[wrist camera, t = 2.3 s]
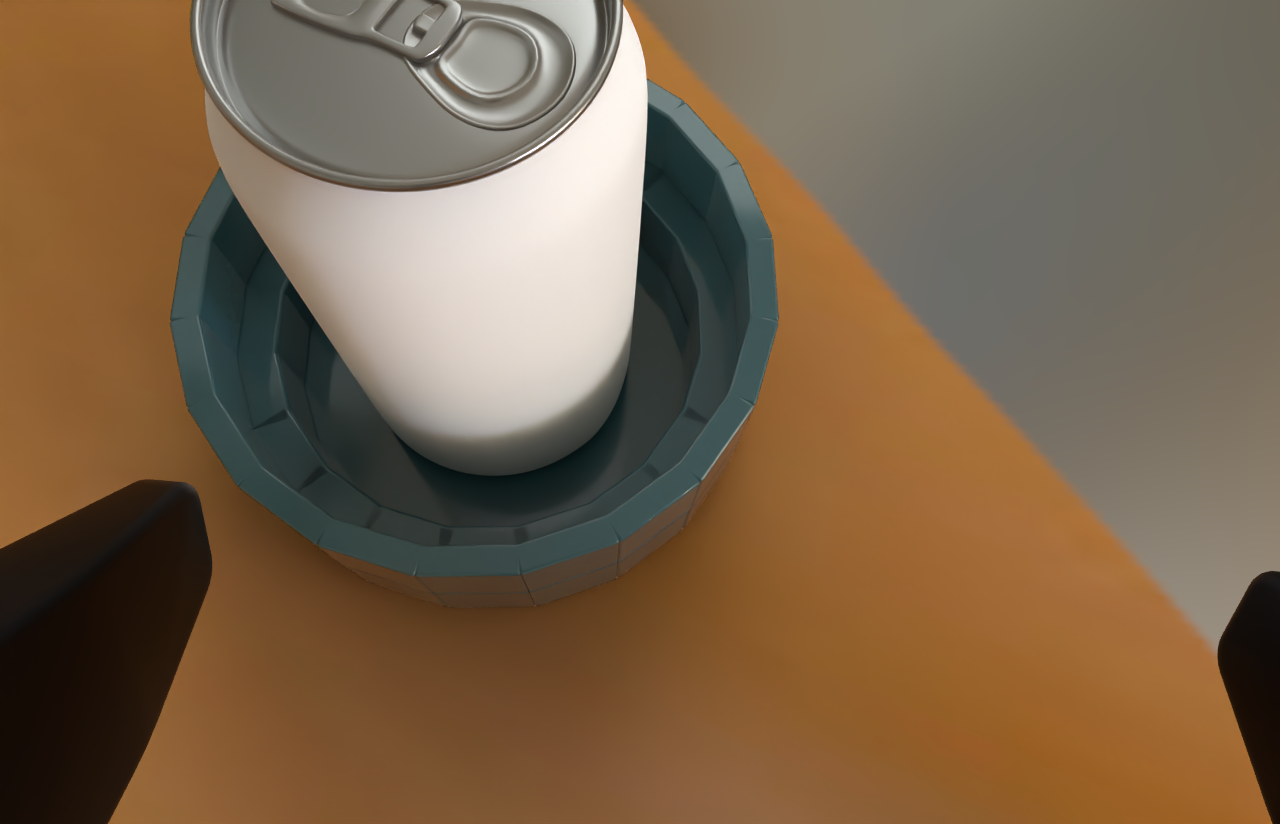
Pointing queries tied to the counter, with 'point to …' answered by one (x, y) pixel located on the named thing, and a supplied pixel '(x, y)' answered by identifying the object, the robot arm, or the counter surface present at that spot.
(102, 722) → the robot arm
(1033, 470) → the counter surface
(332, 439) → the bowl
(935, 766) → the counter surface
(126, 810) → the counter surface
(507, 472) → the can
